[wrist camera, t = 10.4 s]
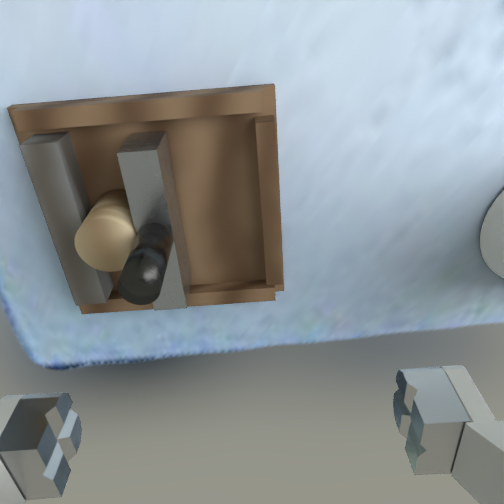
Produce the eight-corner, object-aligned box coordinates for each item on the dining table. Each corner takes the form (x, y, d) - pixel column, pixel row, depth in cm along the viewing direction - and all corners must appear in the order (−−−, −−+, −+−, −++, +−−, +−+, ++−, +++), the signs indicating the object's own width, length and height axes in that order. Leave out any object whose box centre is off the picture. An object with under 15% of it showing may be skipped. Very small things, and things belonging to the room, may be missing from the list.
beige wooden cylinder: (143, 186, 40) (129, 217, 35) (153, 234, 43) (141, 269, 38) (88, 191, 40) (66, 221, 35) (102, 238, 43) (83, 273, 38)
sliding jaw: (166, 130, 37) (138, 187, 27) (191, 276, 45) (177, 363, 35) (130, 133, 38) (89, 191, 27) (162, 279, 45) (139, 366, 35)
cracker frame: (274, 83, 37) (277, 94, 33) (283, 285, 48) (286, 308, 44) (12, 104, 37) (-11, 117, 34) (79, 299, 48) (67, 324, 45)
